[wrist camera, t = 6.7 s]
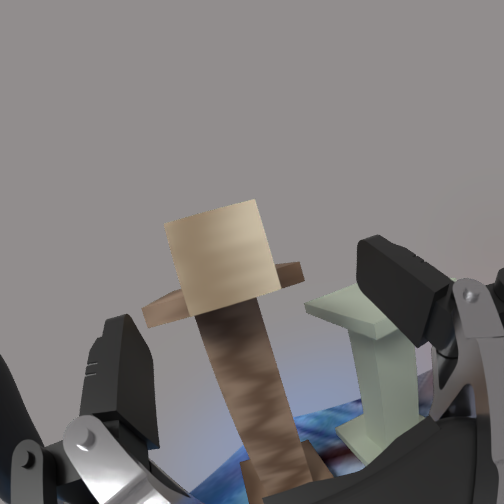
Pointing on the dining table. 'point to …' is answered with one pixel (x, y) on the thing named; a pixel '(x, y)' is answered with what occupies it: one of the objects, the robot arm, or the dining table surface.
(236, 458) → the dining table surface
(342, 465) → the dining table surface
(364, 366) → the low stand
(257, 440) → the tall stand
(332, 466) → the dining table surface
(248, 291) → the wooden block
